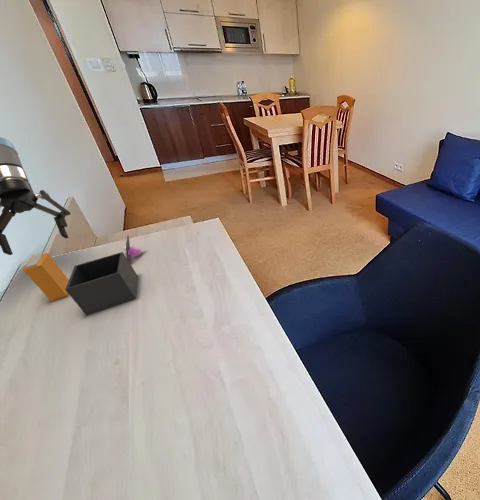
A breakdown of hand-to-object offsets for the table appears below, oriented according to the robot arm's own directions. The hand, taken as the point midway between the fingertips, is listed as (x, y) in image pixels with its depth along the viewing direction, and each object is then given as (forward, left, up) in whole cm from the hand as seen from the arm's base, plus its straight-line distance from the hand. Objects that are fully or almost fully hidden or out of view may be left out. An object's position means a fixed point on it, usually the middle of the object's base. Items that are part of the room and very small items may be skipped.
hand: (37, 245), depth 92 cm
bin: (+16, -19, -13) cm, 28 cm away
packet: (+1, -8, -13) cm, 16 cm away
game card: (+21, +1, -14) cm, 25 cm away
